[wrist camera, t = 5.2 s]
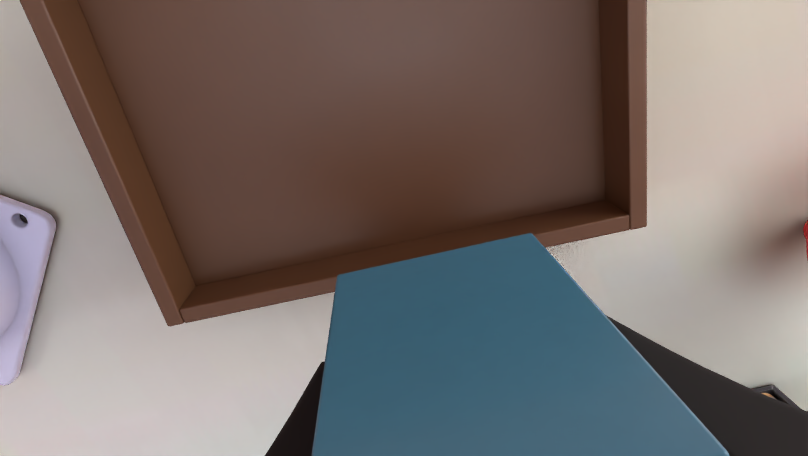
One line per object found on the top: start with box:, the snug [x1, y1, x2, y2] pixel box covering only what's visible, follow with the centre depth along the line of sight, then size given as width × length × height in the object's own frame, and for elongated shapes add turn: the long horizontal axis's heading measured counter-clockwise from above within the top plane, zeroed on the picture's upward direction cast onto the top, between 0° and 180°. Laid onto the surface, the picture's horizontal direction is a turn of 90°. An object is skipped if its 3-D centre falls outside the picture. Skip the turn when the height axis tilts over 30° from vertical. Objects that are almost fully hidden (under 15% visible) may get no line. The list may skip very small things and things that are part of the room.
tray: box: [20, 0, 647, 326], centre depth 15 cm, size 17×13×2 cm
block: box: [312, 233, 729, 456], centre depth 8 cm, size 4×4×6 cm
